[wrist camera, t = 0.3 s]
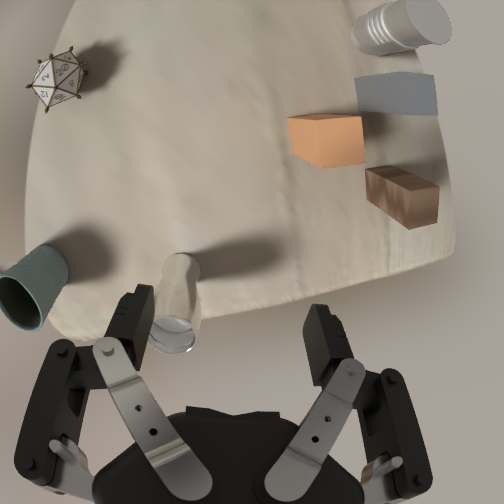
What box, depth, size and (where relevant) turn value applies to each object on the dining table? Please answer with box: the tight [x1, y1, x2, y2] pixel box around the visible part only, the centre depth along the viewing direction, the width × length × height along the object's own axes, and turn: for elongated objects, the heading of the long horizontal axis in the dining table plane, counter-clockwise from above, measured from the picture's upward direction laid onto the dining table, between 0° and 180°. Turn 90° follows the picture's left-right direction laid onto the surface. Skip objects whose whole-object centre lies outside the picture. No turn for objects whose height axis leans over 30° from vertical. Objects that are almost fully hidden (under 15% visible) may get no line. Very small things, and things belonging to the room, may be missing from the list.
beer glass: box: [147, 253, 201, 355], centre depth 37 cm, size 7×7×15 cm
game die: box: [25, 46, 88, 113], centre depth 25 cm, size 9×8×10 cm
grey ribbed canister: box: [350, 0, 452, 56], centre depth 23 cm, size 7×7×15 cm
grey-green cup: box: [0, 245, 69, 332], centre depth 35 cm, size 10×10×12 cm
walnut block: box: [365, 166, 439, 230], centre depth 36 cm, size 5×5×12 cm
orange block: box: [287, 114, 365, 169], centre depth 31 cm, size 5×5×12 cm
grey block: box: [354, 72, 438, 116], centre depth 29 cm, size 5×5×12 cm
